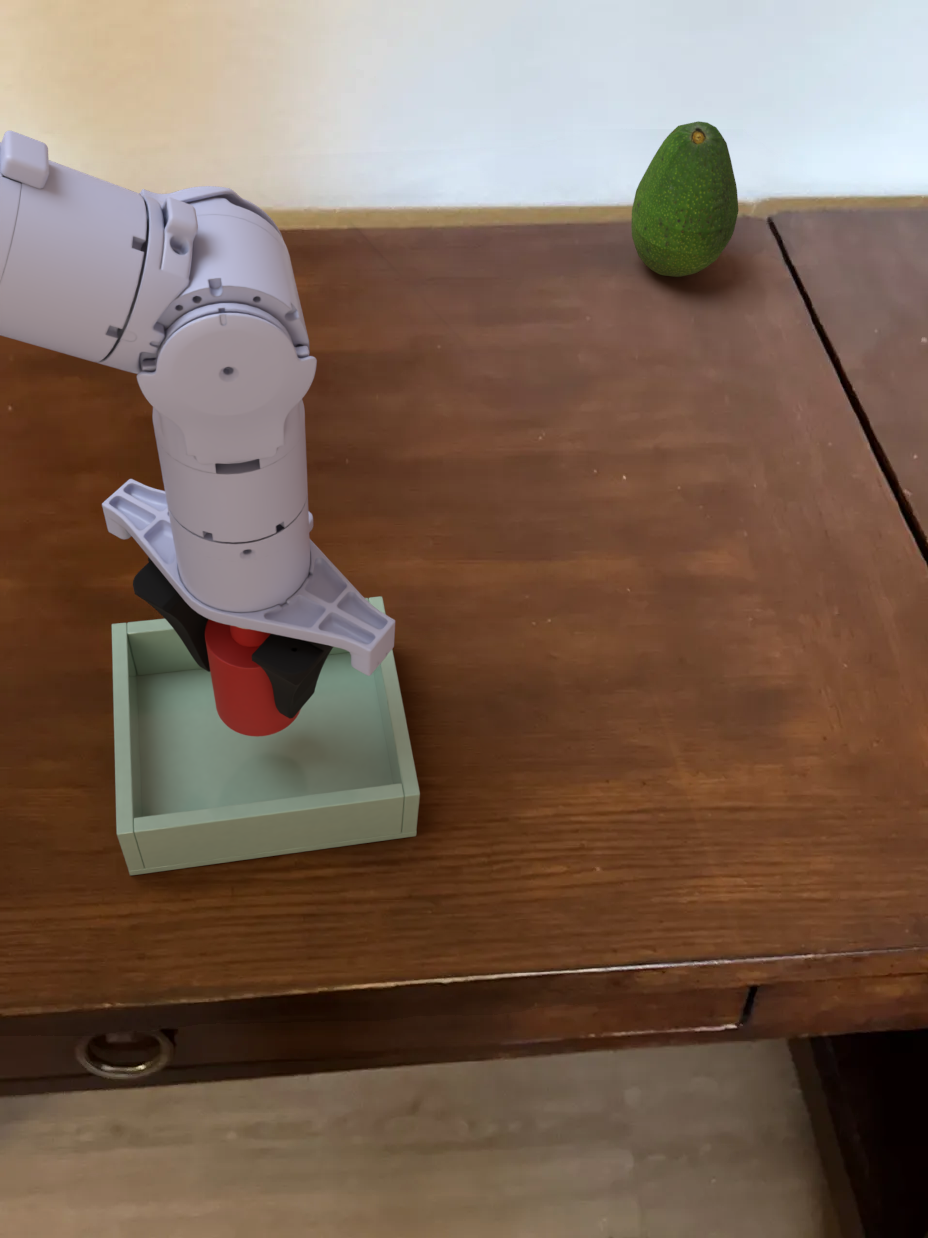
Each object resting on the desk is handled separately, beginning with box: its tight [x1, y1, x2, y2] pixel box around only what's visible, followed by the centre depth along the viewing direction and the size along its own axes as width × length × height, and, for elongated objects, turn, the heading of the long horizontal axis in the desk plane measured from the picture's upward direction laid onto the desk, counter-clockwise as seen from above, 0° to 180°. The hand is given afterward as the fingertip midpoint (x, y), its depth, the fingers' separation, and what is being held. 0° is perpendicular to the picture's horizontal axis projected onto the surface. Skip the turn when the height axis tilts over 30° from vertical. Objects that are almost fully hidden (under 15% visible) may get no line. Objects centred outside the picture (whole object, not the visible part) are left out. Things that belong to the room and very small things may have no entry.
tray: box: [111, 595, 421, 876], centre depth 64 cm, size 15×13×4 cm
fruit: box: [630, 120, 740, 278], centre depth 90 cm, size 8×8×12 cm
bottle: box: [205, 619, 301, 737], centre depth 59 cm, size 4×4×8 cm
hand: (257, 679), depth 60 cm, fingers closed on bottle, 4 cm apart
